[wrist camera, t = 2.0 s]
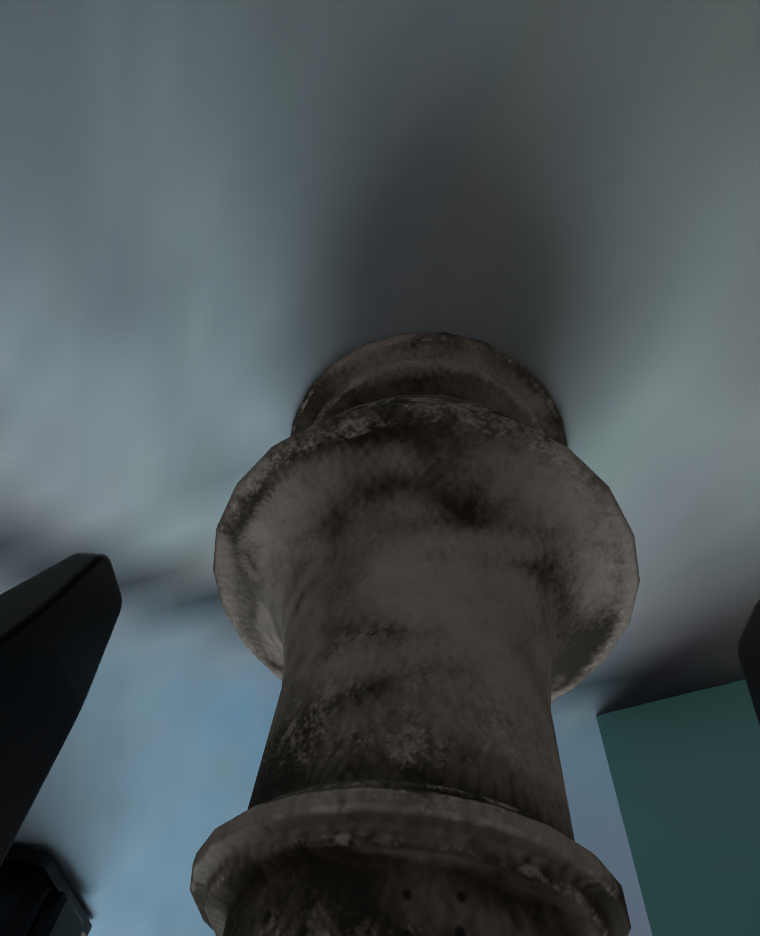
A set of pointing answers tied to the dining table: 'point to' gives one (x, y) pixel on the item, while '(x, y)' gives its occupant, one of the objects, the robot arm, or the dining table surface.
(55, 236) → the dining table surface
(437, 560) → the salt shaker
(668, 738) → the teal block
